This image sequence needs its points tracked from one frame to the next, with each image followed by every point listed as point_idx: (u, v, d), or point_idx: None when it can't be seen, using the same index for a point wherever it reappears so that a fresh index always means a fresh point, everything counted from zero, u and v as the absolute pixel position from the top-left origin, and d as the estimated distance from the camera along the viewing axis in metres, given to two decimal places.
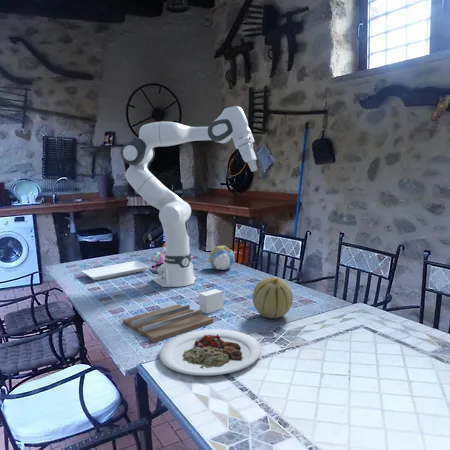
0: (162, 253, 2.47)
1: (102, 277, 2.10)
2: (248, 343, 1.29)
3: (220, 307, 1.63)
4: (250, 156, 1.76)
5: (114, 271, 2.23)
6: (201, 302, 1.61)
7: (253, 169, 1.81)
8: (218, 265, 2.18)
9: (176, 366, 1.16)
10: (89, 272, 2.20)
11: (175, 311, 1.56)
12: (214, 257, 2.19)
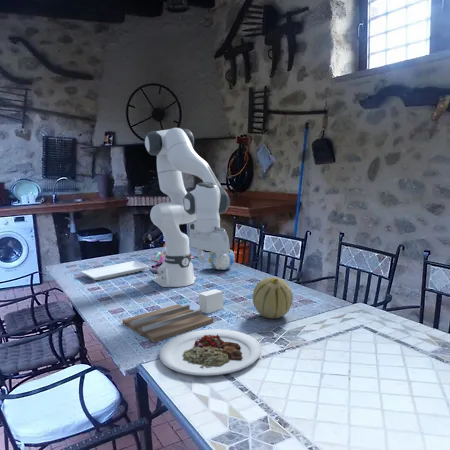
0: (163, 253, 2.47)
1: (103, 277, 2.09)
2: (248, 343, 1.29)
3: (220, 307, 1.63)
4: None
5: (114, 271, 2.23)
6: (201, 302, 1.61)
7: None
8: (218, 265, 2.18)
9: (176, 366, 1.16)
10: (89, 272, 2.19)
11: (175, 311, 1.56)
12: (214, 257, 2.19)
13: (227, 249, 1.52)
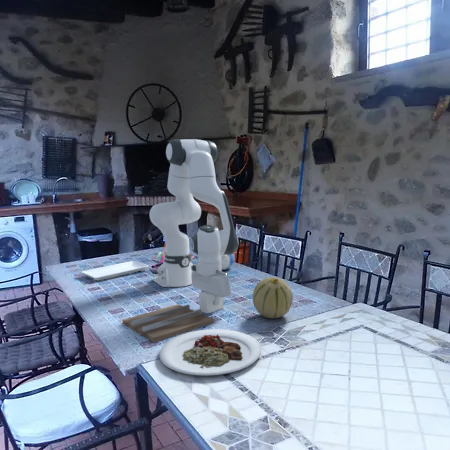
0: (164, 253, 2.47)
1: (104, 277, 2.09)
2: (248, 343, 1.29)
3: (220, 307, 1.63)
4: None
5: (114, 271, 2.23)
6: (201, 302, 1.61)
7: None
8: None
9: (176, 366, 1.16)
10: (89, 273, 2.18)
11: (175, 311, 1.56)
12: None
13: (228, 293, 1.54)
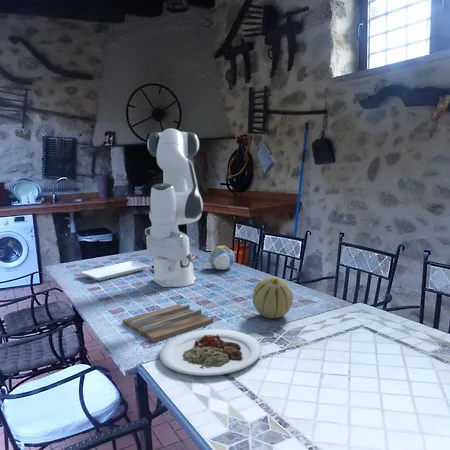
0: None
1: (106, 277, 2.09)
2: (248, 343, 1.29)
3: (177, 274, 1.48)
4: None
5: (114, 271, 2.23)
6: (155, 268, 1.46)
7: None
8: (218, 265, 2.18)
9: (176, 366, 1.16)
10: (89, 273, 2.18)
11: (175, 311, 1.56)
12: (214, 257, 2.19)
13: (183, 257, 1.40)
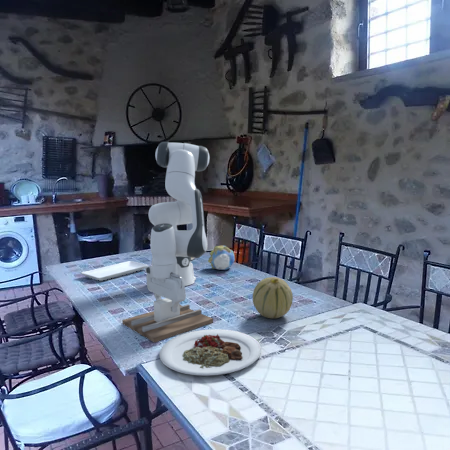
0: None
1: (107, 277, 2.09)
2: (248, 343, 1.29)
3: None
4: None
5: (113, 271, 2.23)
6: (155, 311, 1.48)
7: None
8: (218, 265, 2.18)
9: (176, 366, 1.16)
10: (89, 273, 2.17)
11: None
12: (214, 257, 2.19)
13: (182, 298, 1.41)
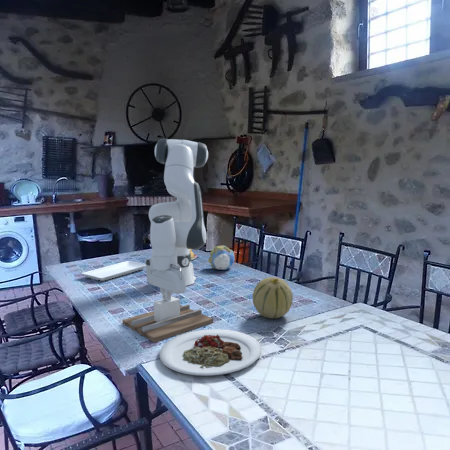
0: None
1: (109, 277, 2.09)
2: (248, 343, 1.29)
3: None
4: None
5: (113, 271, 2.23)
6: (155, 311, 1.48)
7: None
8: (218, 265, 2.18)
9: (176, 366, 1.16)
10: (89, 274, 2.16)
11: None
12: (214, 257, 2.19)
13: (182, 289, 1.41)
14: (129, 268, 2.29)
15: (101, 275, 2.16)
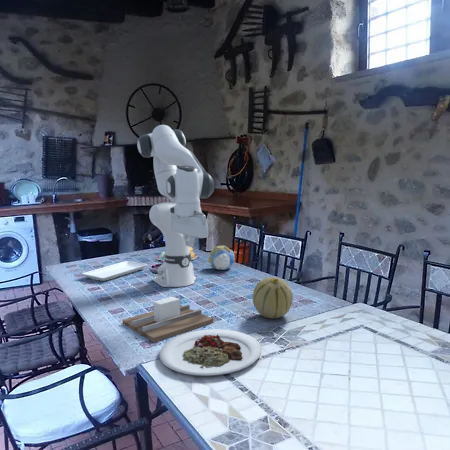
0: None
1: (110, 277, 2.09)
2: (248, 343, 1.29)
3: None
4: None
5: (113, 271, 2.23)
6: (155, 311, 1.48)
7: None
8: (218, 265, 2.18)
9: (176, 366, 1.16)
10: (89, 274, 2.15)
11: None
12: (214, 257, 2.19)
13: (205, 234, 1.50)
14: (129, 268, 2.29)
15: (101, 275, 2.16)
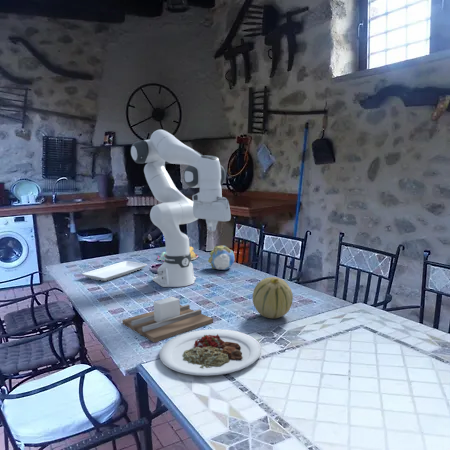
0: None
1: (111, 277, 2.09)
2: (248, 343, 1.29)
3: None
4: None
5: (113, 271, 2.23)
6: (155, 311, 1.48)
7: None
8: (218, 265, 2.18)
9: (176, 366, 1.16)
10: (90, 274, 2.15)
11: None
12: (214, 257, 2.19)
13: (228, 218, 1.62)
14: (128, 268, 2.30)
15: (102, 275, 2.16)
